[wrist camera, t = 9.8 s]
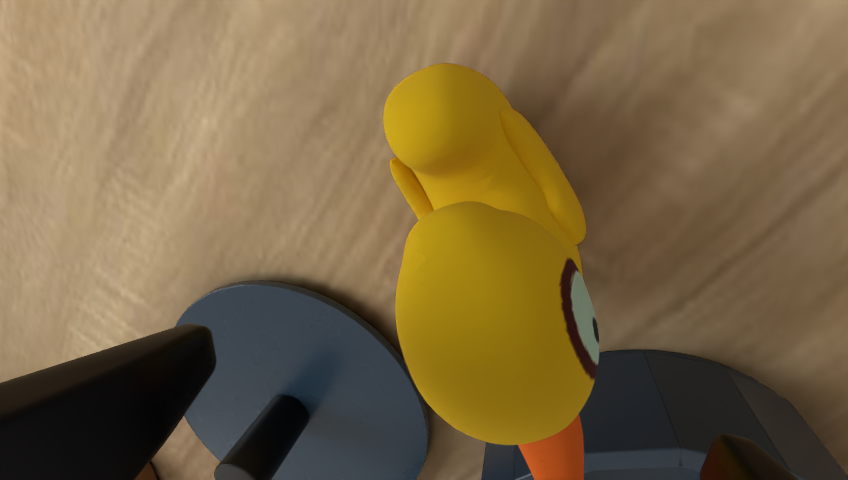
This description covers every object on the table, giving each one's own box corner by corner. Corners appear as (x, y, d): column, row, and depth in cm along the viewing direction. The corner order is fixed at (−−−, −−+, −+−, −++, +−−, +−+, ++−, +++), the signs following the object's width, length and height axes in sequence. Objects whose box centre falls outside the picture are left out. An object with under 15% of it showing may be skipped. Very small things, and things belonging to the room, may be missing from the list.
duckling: (618, 308, 17) (709, 565, 8) (497, 338, 19) (461, 573, 10) (518, 35, 14) (489, -26, 5) (388, 103, 16) (210, 140, 7)
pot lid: (204, 462, 28) (133, 545, 23) (159, 254, 22) (49, 307, 17) (425, 525, 25) (397, 638, 20) (440, 302, 19) (406, 383, 14)
